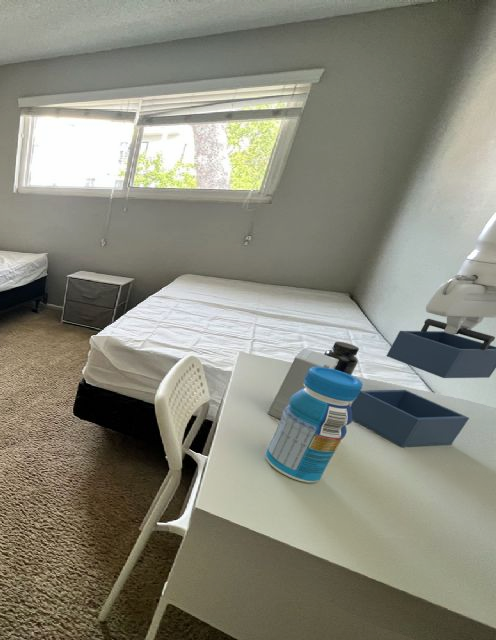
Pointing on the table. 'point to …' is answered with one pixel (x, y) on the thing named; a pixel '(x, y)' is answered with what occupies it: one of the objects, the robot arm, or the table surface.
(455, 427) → the lower bin
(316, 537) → the table surface
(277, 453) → the blue vitamin bottle
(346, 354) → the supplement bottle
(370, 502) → the table surface
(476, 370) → the upper bin
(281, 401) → the cosmetic box
